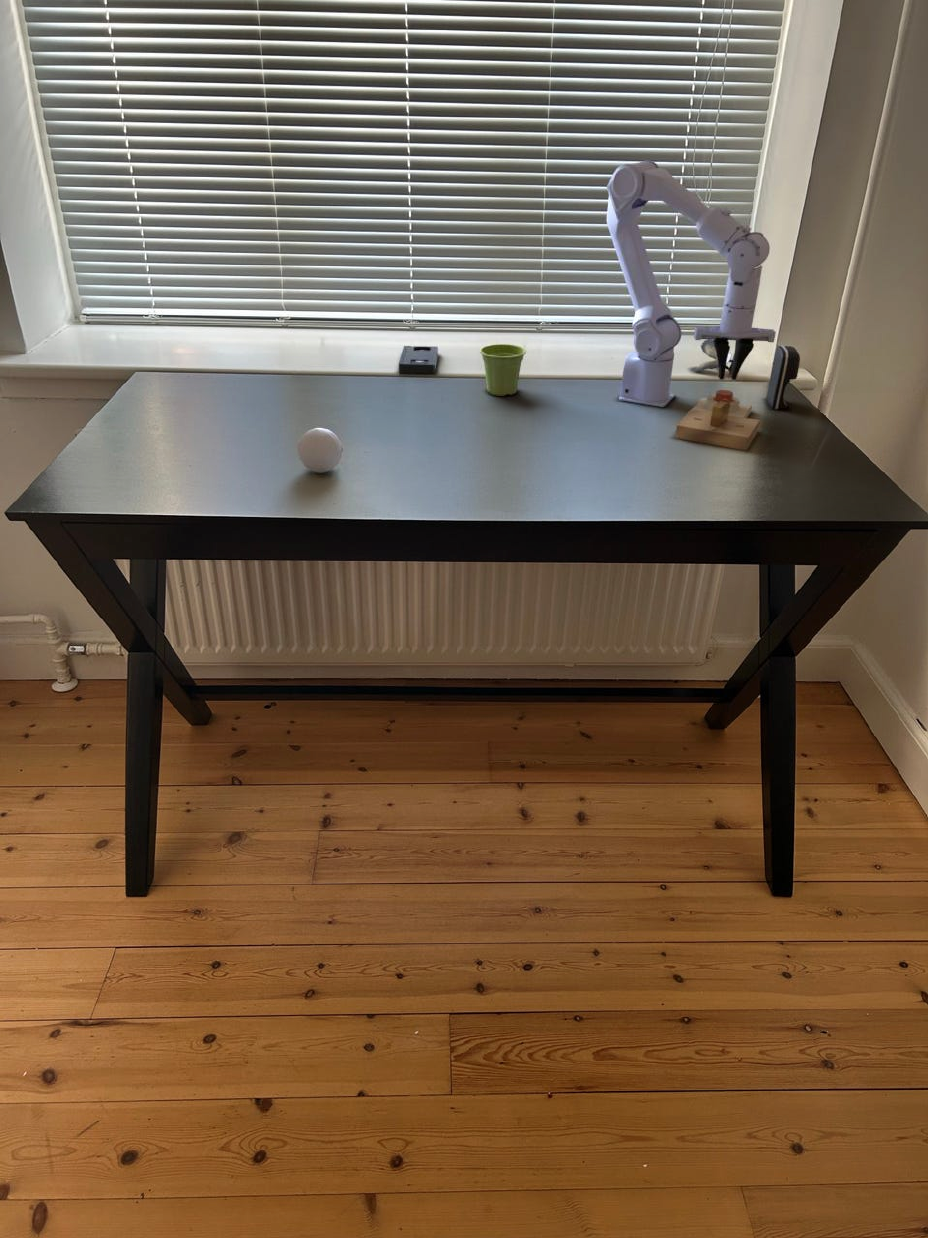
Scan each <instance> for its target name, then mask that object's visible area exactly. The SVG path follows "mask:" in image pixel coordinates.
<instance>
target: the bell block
mask: <svg viewBox="0 0 928 1238" xmlns="http://www.w3.org/2000/svg"><path fill="white" fill-rule="evenodd" d="M715 396H716V394H711V395H708V397H707V398H706V397H701V398H700V400H699V401H697V403H696V404H695V405H694V406H693V407H692V409H693V410H700V411H706V412H712V409H713V406H714V405H716V404H717V403H719V402H717V401H715ZM752 408H753V405H751V404H744V403H741V400H740V398H738V397H735V396H733V397H732V402H730V408H729V414H728V415H730V416H737V417H743V418H748V417H749V416H750V414H751V413H752Z"/></svg>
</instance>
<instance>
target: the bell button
mask: <svg viewBox="0 0 928 1238" xmlns="http://www.w3.org/2000/svg"><path fill="white" fill-rule="evenodd" d="M715 395H716V396H715V401H717V402H720V401H722V400H723V399H724V398H725V399H730V401H731V402H732V397H734V392H733V391H732V390H731V391H730V390H726V389H718V390H716V392H715Z"/></svg>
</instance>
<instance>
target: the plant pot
mask: <svg viewBox="0 0 928 1238" xmlns="http://www.w3.org/2000/svg"><path fill="white" fill-rule="evenodd" d="M526 352H527V350H526V348H524V347H522V346H520V345H515V344H508V343H497V344H496V343H495V344H489V345H485V346H483V347H481V348H480V349H479V353H480V355H481V358H482V360H483V364H484V373H485V380H486V381H485V382H486V391H487V392H489V394H490V395H492V396H499V397H503V396H506V395H509V396H511V395H513V394H517V391H518V385H519V378H520V372H521V368H522V367H521V366H522V361H523V360H524V355H525V354H526Z"/></svg>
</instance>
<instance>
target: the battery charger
mask: <svg viewBox="0 0 928 1238" xmlns="http://www.w3.org/2000/svg"><path fill="white" fill-rule="evenodd" d="M800 362H801V356H800V353H799V352H798V350H797V349H796V347H794V346H791V345H778V346H777V347H776V349H775V351H774V357H773V362H772V367H771V371H770V372H771V373H770V376H769V383H768V387H767V393H766V398H765V399H766V401H767V402H768V404H769V406H770V407H771V409H773V410H785V409H787V408H788V404H787V402H786V400H785V399H784V395H785V390H786V387H787V385H788V384H790V381H791V380H797V378H798V374H799V370H800V364H801V363H800Z"/></svg>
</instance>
